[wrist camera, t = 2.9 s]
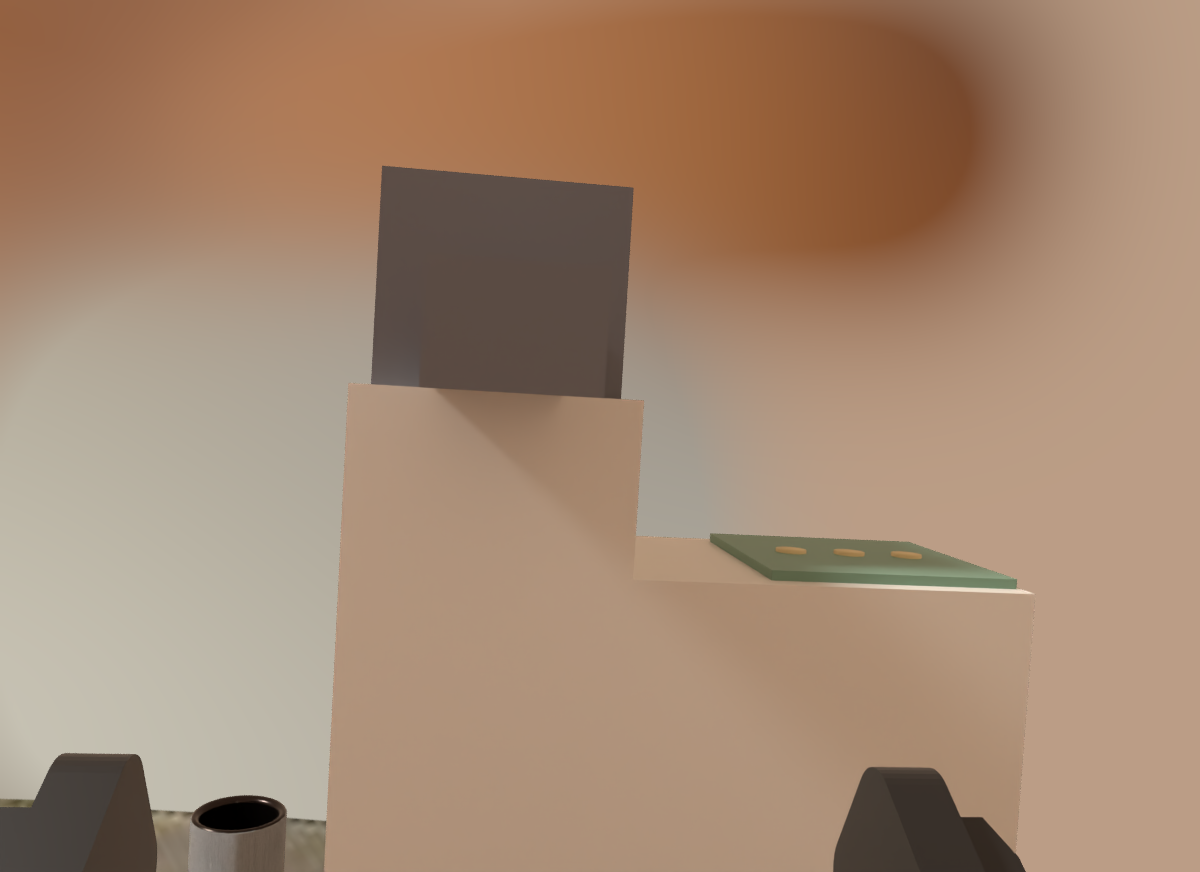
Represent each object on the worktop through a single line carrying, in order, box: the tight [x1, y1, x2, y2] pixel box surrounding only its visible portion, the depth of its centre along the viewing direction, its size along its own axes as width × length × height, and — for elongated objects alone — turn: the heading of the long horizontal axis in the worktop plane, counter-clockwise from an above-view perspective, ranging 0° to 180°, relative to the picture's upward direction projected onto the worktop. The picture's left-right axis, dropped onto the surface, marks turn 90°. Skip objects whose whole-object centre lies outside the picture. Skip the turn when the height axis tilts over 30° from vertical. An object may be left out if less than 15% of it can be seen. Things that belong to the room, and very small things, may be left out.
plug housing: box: [371, 166, 633, 399], centre depth 27 cm, size 7×16×6 cm, turn 8°
